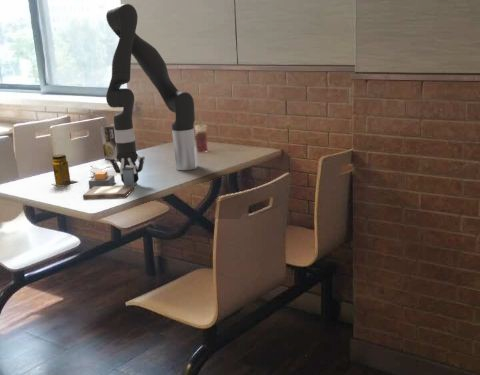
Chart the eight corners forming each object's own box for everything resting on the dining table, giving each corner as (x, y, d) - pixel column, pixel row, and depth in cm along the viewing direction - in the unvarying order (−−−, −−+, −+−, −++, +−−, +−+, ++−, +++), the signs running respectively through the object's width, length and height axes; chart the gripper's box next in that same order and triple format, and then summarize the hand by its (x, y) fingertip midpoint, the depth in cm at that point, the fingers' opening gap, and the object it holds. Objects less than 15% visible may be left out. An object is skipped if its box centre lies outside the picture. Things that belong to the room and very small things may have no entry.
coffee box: (127, 157, 290) (123, 124, 286) (117, 160, 285) (113, 126, 281) (113, 156, 295) (109, 124, 291) (104, 159, 290) (99, 126, 285)
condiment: (51, 184, 246) (47, 156, 243) (68, 179, 253) (64, 152, 249) (61, 186, 242) (57, 158, 239) (79, 181, 248) (75, 153, 245)
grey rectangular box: (136, 183, 239) (134, 166, 237) (134, 186, 235) (132, 168, 233) (127, 183, 239) (125, 166, 237) (124, 186, 235) (122, 168, 234)
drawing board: (133, 188, 231) (133, 184, 231) (125, 197, 219) (124, 193, 219) (94, 190, 233) (93, 186, 232) (83, 198, 221) (82, 194, 221)
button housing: (114, 182, 243) (114, 175, 242) (108, 187, 235) (107, 180, 234) (96, 183, 244) (95, 176, 243) (89, 188, 236) (88, 181, 235)
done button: (108, 179, 241) (107, 171, 240) (105, 182, 237) (103, 173, 236) (98, 179, 241) (97, 171, 240) (95, 182, 237) (94, 174, 236)
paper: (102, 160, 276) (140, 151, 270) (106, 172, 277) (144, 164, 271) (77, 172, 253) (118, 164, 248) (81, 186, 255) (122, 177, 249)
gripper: (145, 137, 235) (149, 179, 240) (110, 139, 237) (115, 180, 241) (140, 141, 228) (145, 184, 232) (104, 142, 230) (110, 185, 234)
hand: (130, 182), depth 237 cm, fingers closed on grey rectangular box, 4 cm apart
